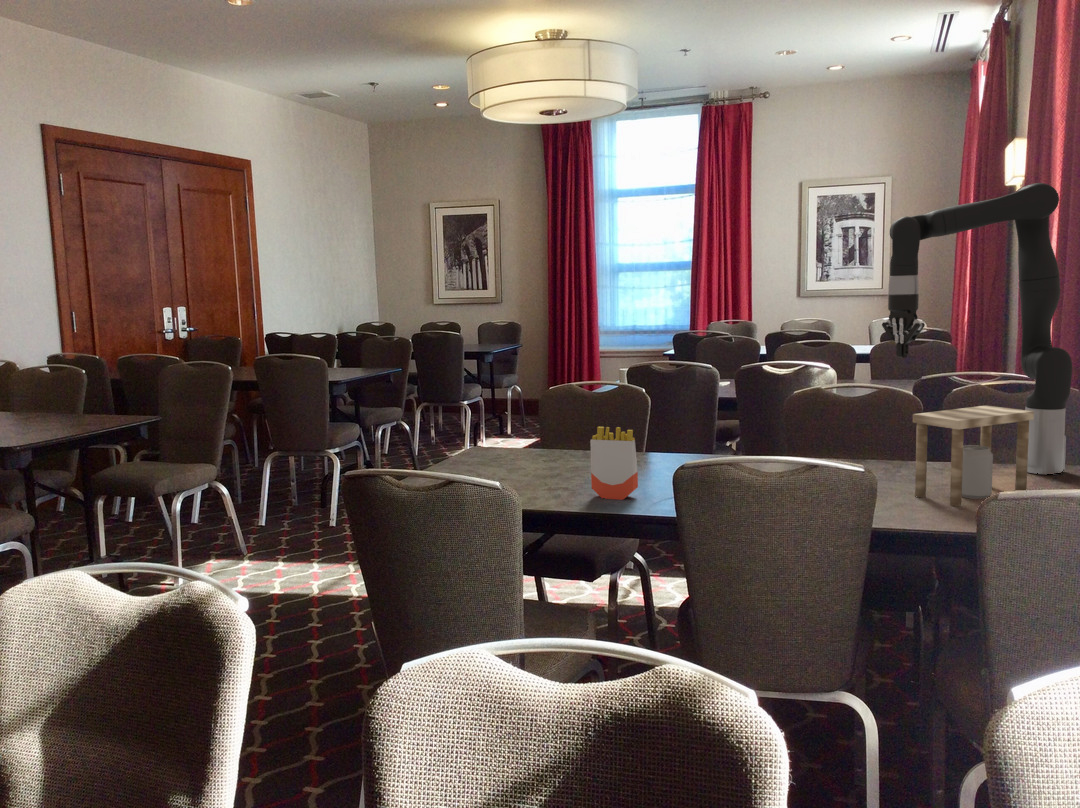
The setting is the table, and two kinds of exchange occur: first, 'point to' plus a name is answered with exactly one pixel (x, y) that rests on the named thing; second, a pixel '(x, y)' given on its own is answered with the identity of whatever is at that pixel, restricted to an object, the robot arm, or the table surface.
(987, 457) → the can
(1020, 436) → the stand
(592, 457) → the french fries container
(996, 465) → the table surface
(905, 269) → the robot arm
